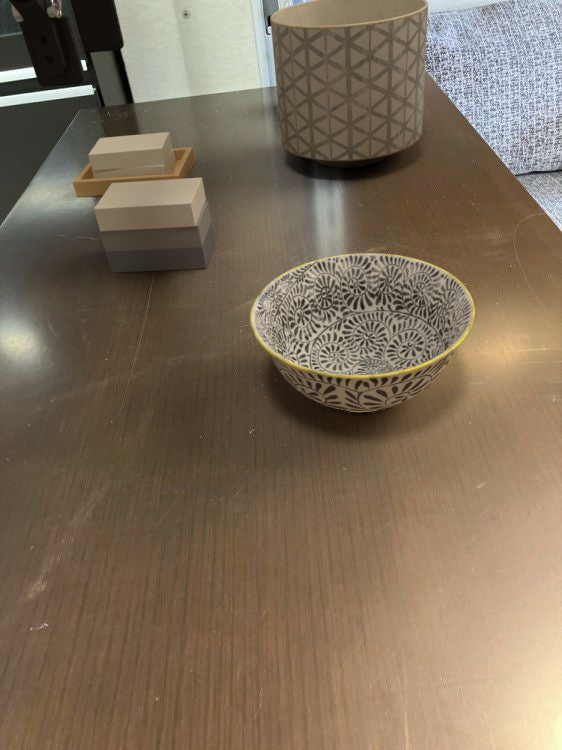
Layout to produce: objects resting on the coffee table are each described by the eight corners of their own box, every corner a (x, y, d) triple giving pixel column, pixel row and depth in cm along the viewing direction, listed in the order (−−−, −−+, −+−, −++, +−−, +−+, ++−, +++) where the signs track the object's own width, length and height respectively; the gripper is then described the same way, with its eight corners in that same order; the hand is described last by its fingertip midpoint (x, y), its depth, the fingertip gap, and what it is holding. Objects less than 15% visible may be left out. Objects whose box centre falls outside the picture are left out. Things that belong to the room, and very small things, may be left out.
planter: (405, 188, 77) (411, 23, 66) (263, 180, 83) (246, 28, 72) (431, 135, 91) (440, -10, 79) (307, 131, 97) (299, -3, 85)
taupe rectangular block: (94, 186, 86) (85, 154, 83) (109, 167, 91) (100, 136, 88) (167, 182, 84) (160, 149, 82) (177, 162, 90) (171, 131, 87)
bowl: (223, 380, 51) (208, 303, 47) (366, 305, 58) (366, 231, 53) (352, 495, 41) (349, 411, 36) (509, 388, 47) (525, 305, 43)
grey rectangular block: (111, 273, 67) (98, 230, 64) (126, 246, 72) (114, 205, 69) (206, 268, 66) (198, 225, 63) (215, 242, 71) (207, 200, 68)
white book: (100, 231, 64) (93, 208, 62) (117, 204, 69) (111, 182, 67) (195, 226, 63) (190, 203, 61) (205, 199, 68) (202, 177, 66)
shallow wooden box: (76, 197, 85) (72, 182, 84) (99, 167, 93) (95, 153, 92) (181, 190, 83) (178, 175, 82) (195, 161, 91) (192, 146, 90)
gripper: (0, -233, 43) (76, 44, 53) (-154, -273, 29) (-13, 105, 40) (106, -248, 42) (160, 36, 53) (-5, -297, 29) (99, 96, 39)
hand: (85, 66), depth 46 cm, fingers open, 9 cm apart
